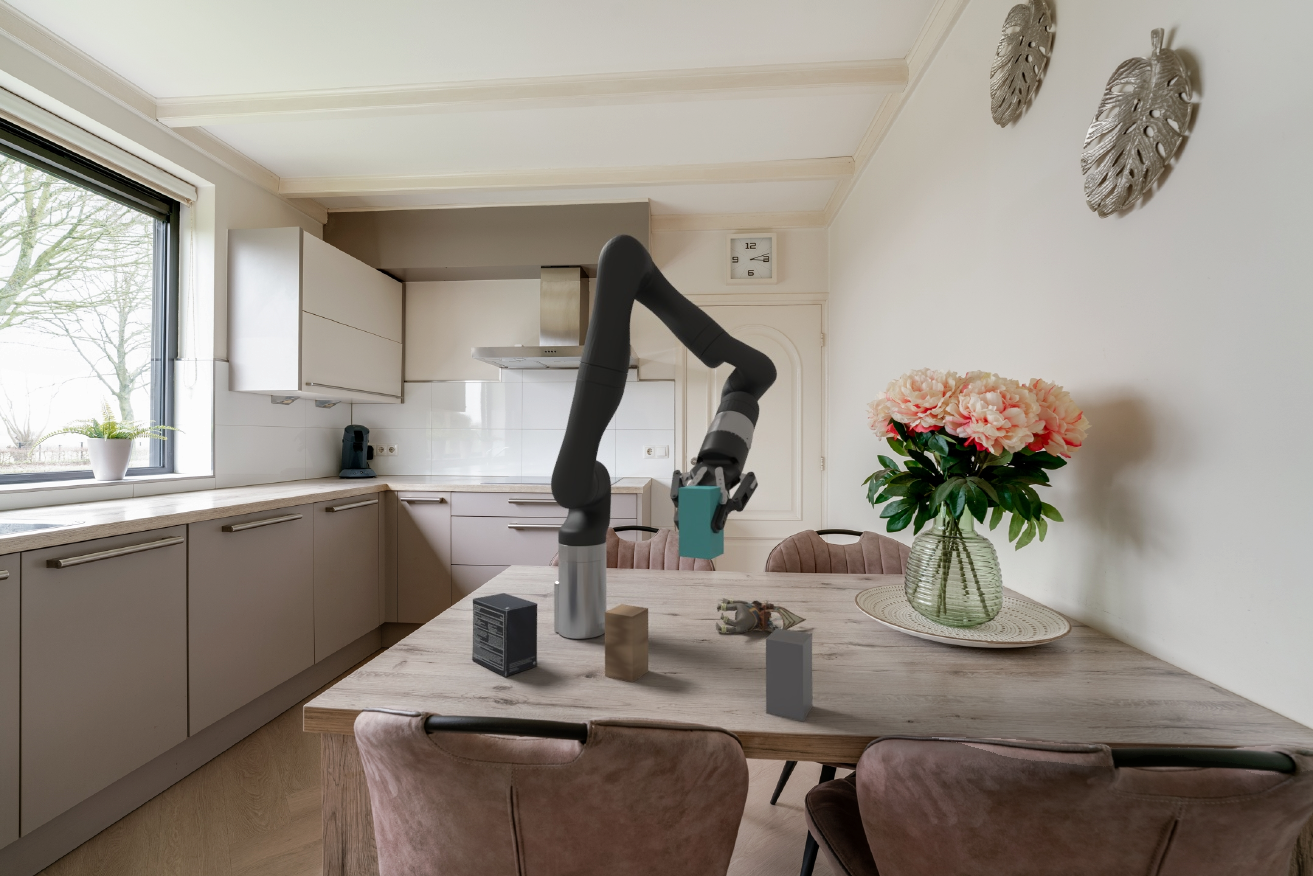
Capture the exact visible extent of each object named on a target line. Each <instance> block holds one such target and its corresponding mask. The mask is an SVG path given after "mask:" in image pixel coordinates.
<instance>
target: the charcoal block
mask: <svg viewBox="0 0 1313 876" xmlns="http://www.w3.org/2000/svg"><path fill="white" fill-rule="evenodd" d="M765 703H766V704H765V713H766V715H767V714H768V715H772V716H776V717H781V718H785V719H789V720H793V721H798V722H804V721H805V720H806V718H807V717H808V714H809V713H810V711H811V710H812V708H813V633H809V632H803V631H796V630H791V629H787V630H785V629H780V628H779V627H778V628H776V629H775V630H774V631H773V632H770V634H769V635H768V636H767V637H766V638H765Z"/></svg>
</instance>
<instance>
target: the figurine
mask: <svg viewBox="0 0 1313 876" xmlns="http://www.w3.org/2000/svg"><path fill="white" fill-rule="evenodd" d="M720 603H721V604H720ZM720 603H718V604H717V605H716V610H717V612H720V611H721V616H720V617H719V619H720V620H722V621H723V622H724V624H723V625H719V624H718V621H715V630H716V631H717V632H718V631H719V632H721V634H726V633H729V634H736V635H737V634H743V633H746V632H748V633H749V632H751V631H760V632H763V631H767V632H770V633H772V632H773V631H774V630H775V629H776V628H778V629H785V630H790V629H791V628H793V627H795V626H796V625H799V624H801V623H803V622H805V621H807V619H806V618H803V617H801V616H800V615H798V614H795V613H793V612H791V611H790V610H788V609H787V608H785V607H782V606H779V605H778V606H776V605H775V604H773V603H771V602H770V603H769V599H765V601H764V602H761V601H759V600H756V599H755V600H753V601H752V602H748V601H746V600H740V599H738V600H733V599H732V598H730V599H727V598H725V597H722V600H721V602H720ZM729 611H730V612H734V613H735V614H734V616H735V617H734V618H735V619H731V618H730V617H729V616H727V615H724V612H729ZM773 613H777V614H778V615H779V616H780V617H781V618H780V620H782V625H781V626H780V628H779V626H778V625H776V624H775V625H774V624H773V623H774V622H773V621H772V620H771V619H772V618H773V617H772V614H773ZM775 619H776V620H777V619H778V620H779V618H775ZM725 624H729V625H732V626H731V627H730V626H727V625H725ZM759 626H760V627H759Z"/></svg>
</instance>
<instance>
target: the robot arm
mask: <svg viewBox="0 0 1313 876" xmlns="http://www.w3.org/2000/svg"><path fill="white" fill-rule="evenodd" d="M652 258H653V257H652V255H650V253H649V251H648V249H646V247H645V246H644V245H643V244H642V243H641V241H640V240H638V239H637V238H636V237H634V236H632V235H629V234H618V235H615V236H613V237H612V238H610V239H609V240H608V241H607V242H606V243H605V244H604V245H603V247H602V249H601V251H600V254H599V257H598V262H597V271H596V278H595V279H596V281H595V289H594V290H595V292H594V299H593V306H592V310H591V316H590V320H589V323H588V326H587V330H586V331H587V332H586V335H585V341H584V346H583V349H582V350H583V351H582V354H581V357H580V362H579V366H578V370H577V376H576V379H575V386H574V387H575V388H574V392H573V396H572V400H571V401H572V402H571V406H570V411H569V415H568V420H567V424H566V429H565V431H564V432H565V433H564V435H563V439H562V442H561V446H560V449H559V452H558V455H557V457H556V460H555V463H554V466H553V467H554V468H553V471H552V473H551V478H550V479H551V481H550V489H551V493H552V494H551V495H552V496H553V499H554V501H555V502H556V503H557V504H558V505H559V506H560V507H561V508H563V509H567V510H568V512H567V516H566V519H565V521H564V523H562V525H560V527H559V529H558V532H557V533H558V534H557V538H558V539H557V540H558V541H557V542H558V543H557V546H558V548H557V550H558V551H557V552H558V553H557V554H558V563H557V564H558V566H557V567H558V568H557V569H558V578H557V579H558V580H557V581H555V582H554V585H553V586H554V587H553V592H554V593H553V600H554V601H553V622H554V624H553V627H554V630H553V631H554V632H555V633H558V634H559V635H560V636H562V637H564V638H568V639H575V640H576V639H578V640H579V639H591V638H596V637H599V636H602V635H603V634H604V635H605V612H606V611H608V610H607V605H608V604H607V603H608V602H607V534H608V530H609V527H610V524H611V512H612V511H611V508H612V507H611V505H612V482H611V481H612V480H611V476H610V473H609V471H608V469H607V467H606V466H605V464H604V463H602V462H601V461H599V460H597V456H598V453H599V452H598V451H599V447H600V444H601V441H602V437H603V435H604V434H605V431H606V429H607V428H608V425H609V423H610V422H611V420H612V419H613V417H614V415H615V414H616V412H617V410H618V409H619V408H618V407H620V404H621V402H622V400H623V396H624V393H625V388H626V385H627V379H628V375H629V369H630V364H631V362H630V361H631V316H632V311H633V306H634V304H635V303H634V302H635V301H636V302H638V303H639V304H641V305H643V307H645V308H646V309H648V310H649V311H650V312H651V313H653V314H654V315H655V316H656V317H657V318H658V319H659V320H660V321H661V322H662V323H663V324H664V325H665V326H666V327H667V328H668V329H669V331H670V332H671V333H672V334H673V335H674V336H675V338H677V339H678V340H679V342H681V343H682V345H684V347H686V348H687V350H688V351H690V353H692V354H693V355H694V356H695V357H696V358H697V359H698V360H699V361H700V362H702V364H704V365H705V367H707V368H709V369H716V368H718V367H720V366H722V365H723V364H724V363H726V364H729V365H731V366H732V367H735V368H734V369H733V370H732V372H731V373H730V374H729V375H728V377H727V378H726V380H725V382H724V385H723V387H722V389H721V394H720V402H719V403H720V404H719V405H718V408H717V410H716V413H715V415H714V417H713V419H712V421H711V423H710V425H709V427H708V429H707V431H706V434H705V436H704V439H703V441H702V443H701V445H700V447H699V452H697V457H696V461H695V464H694V466H693V467H692V468H691V469H690V471H686V472H681V470H680V469H675V470H674V471H673V472H672V479H671V487H670V492H669V497H670V500H671V501H672V503H673V505H674V507H675V509H676V511H675V513H674V516H673V523H674V524H675V526H676V528H677V530H678V531H679V488H681V487H687V486H717V487H721V493H720V496H719V503H720V504H719V505H717V506H716V509H715V512H714V515H713V518H712V521H711V524H710V526H711V529H712V531H713V533H717V534H718V533H719V531H720V530H722V529H723V528H725V526H726V524H727V523H726V522H727V519H728V516H729V514H731V513H732V512H735V511H736V512H738V513H740V512H743V510H744V509H745V507H746V506H747V504H748V503H749V501H750V500H751V498H752V496H753V495H754V493H755V491H756V490H757V488H758V486H759V483H758V479H757V477H756V474H755V472H754V471H748V472H747V473H743V471H744V468H745V466H746V465H745V464H746V462H747V458H748V456H749V452H750V450H751V448H752V444H753V438H754V432H755V429H756V426H757V423H758V420H759V417H760V405H759V402H758V401H759V400H760V399H761V398H762V397H763V396H764V394H766V393H767V391H768V390H770V388H771V387H772V386H773V385H774V384H775V382H776V380H777V376H778V371H777V368H776V365H775V363H774V362H773V360H772V359H771V358H770V357H769V356H768V355H766V354H765V353H764V352H762V351H760V350H759V349H756V348H754V347H752V346H750V345H748V344H746V343H745V342H743V341H741V340H739V339H737V338H735V337H734V336H731V335H730V334H729V332H727V331H726V330H725V329H724V327H722V326H721V325H720V324H719V323H717V322H716V321H715V320H714V319H713V318H712V317H711V316H710V315H708V314H707V313H706V312H705V311H704V310H703V309H701V308H700V307H699V306H698V305H696V304H695V303H693V302H692V301H691V300H689V299H688V298H687V297H685V296H684V295H683V294H682V293H681V292H680V291H678V289H676V288H675V286H673V285H672V283H671V282H670V281H669V280H668V279H667V278H666V277H665V274H664V273H662V271H661V270H660V268H659V267H658V266H657V265H656V264H655V262H654V260H653V259H652ZM689 481H690V482H689ZM688 482H689V483H688ZM737 485H738V486H737ZM736 486H737V489H736V490H735V492H734V494H733V495H732V497H731V490H733V488H735V487H736Z"/></svg>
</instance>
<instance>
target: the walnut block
mask: <svg viewBox="0 0 1313 876" xmlns="http://www.w3.org/2000/svg"><path fill="white" fill-rule="evenodd" d="M648 672H649V608H648V607H643V606H636V605H628V604H623V603H621V604H619V605H617V606H615V607H612V608H610V609H609V610H606V612H605V633H604V677H607V678H612V679H616V680H620V681H621V680H622V681H625V682H629V683H634V682H635V681H637V680H638V679H639V678H641V677H642V676H644V675H645V674H646V673H648Z"/></svg>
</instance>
